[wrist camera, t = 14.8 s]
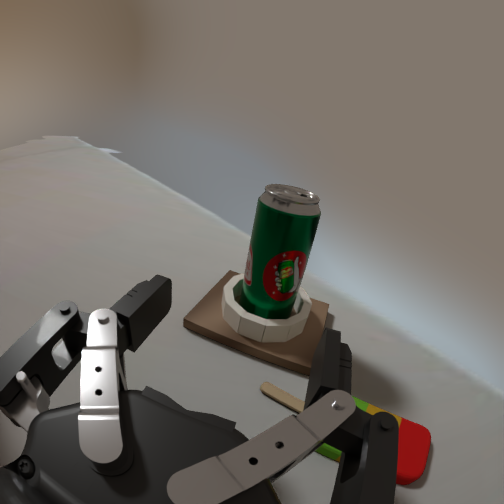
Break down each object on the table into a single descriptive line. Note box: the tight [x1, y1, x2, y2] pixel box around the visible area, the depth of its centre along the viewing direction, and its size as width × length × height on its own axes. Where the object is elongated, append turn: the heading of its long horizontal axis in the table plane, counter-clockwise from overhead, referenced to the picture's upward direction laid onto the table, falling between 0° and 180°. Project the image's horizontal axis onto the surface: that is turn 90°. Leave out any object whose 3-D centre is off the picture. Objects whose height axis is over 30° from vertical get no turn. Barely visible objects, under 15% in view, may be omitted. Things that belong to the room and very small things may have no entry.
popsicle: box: [260, 382, 431, 485], centre depth 16 cm, size 6×15×2 cm, turn 56°
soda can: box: [239, 184, 321, 319], centre depth 24 cm, size 5×5×12 cm
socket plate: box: [183, 270, 329, 376], centre depth 26 cm, size 12×10×3 cm
